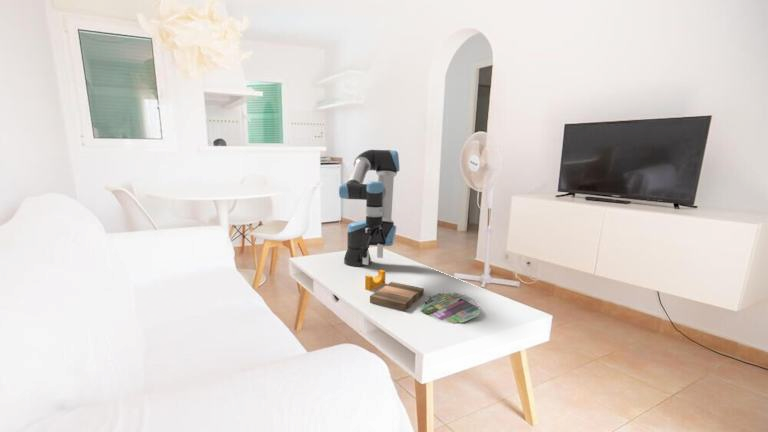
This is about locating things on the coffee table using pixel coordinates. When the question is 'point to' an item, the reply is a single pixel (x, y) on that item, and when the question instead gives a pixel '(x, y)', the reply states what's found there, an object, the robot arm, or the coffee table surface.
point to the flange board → (397, 296)
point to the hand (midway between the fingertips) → (372, 261)
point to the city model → (451, 307)
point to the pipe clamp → (375, 280)
